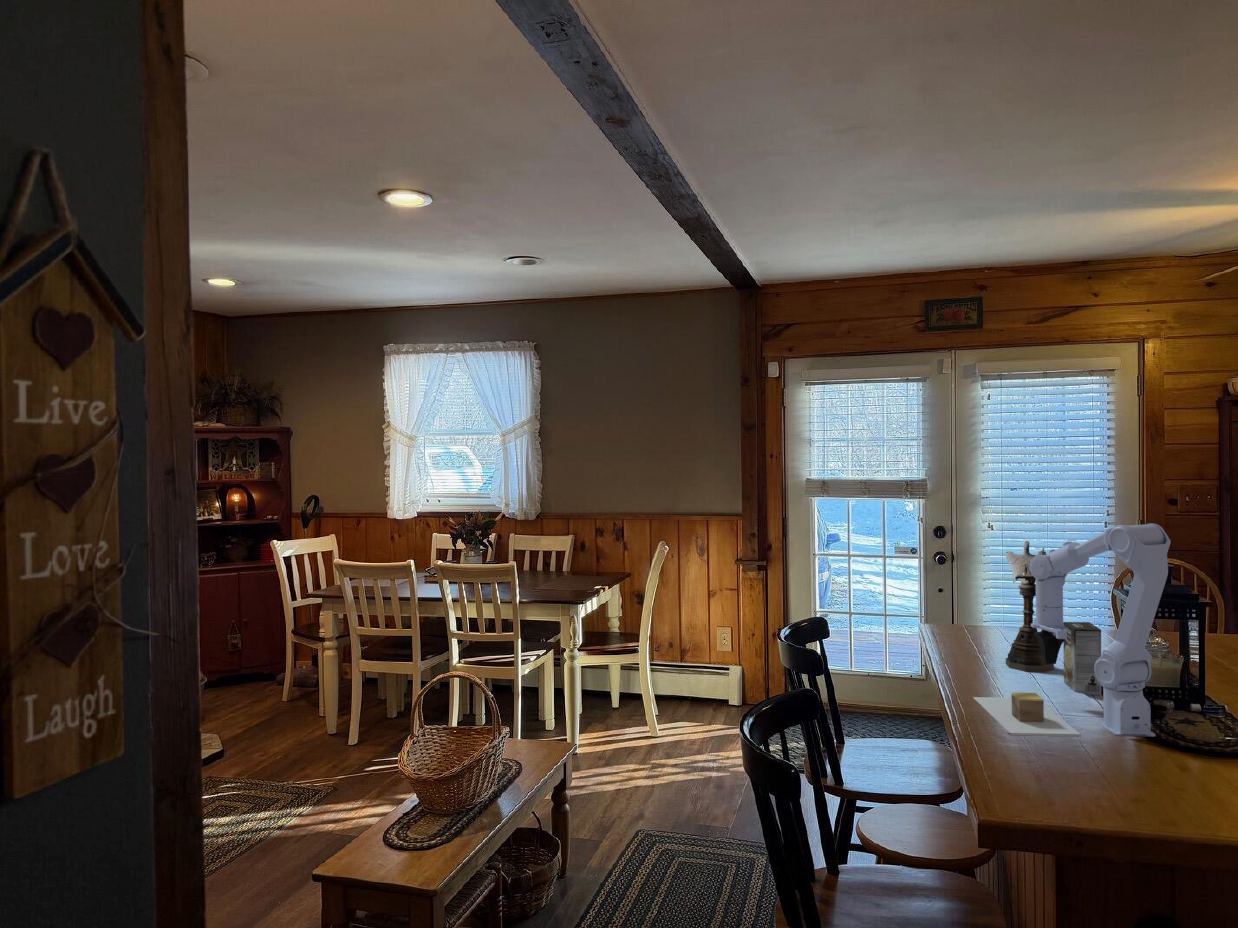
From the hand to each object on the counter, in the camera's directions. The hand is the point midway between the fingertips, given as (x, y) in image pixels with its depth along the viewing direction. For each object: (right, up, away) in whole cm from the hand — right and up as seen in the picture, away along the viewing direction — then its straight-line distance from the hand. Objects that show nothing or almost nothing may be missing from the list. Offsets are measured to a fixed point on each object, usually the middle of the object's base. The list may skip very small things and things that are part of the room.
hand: (1050, 663), depth 200 cm
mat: (-11, -10, -10) cm, 18 cm away
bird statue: (+12, -9, +31) cm, 34 cm away
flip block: (-12, -4, -13) cm, 18 cm away
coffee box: (+13, -9, +11) cm, 19 cm away
